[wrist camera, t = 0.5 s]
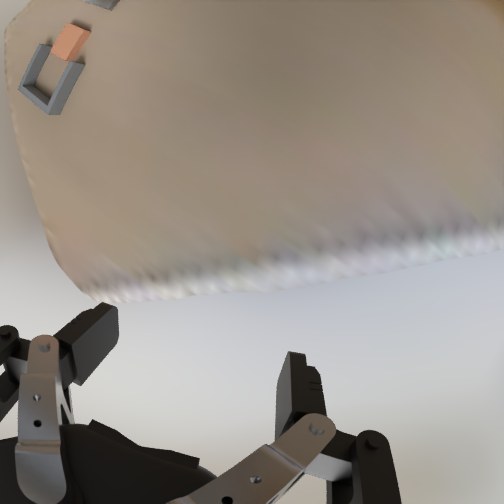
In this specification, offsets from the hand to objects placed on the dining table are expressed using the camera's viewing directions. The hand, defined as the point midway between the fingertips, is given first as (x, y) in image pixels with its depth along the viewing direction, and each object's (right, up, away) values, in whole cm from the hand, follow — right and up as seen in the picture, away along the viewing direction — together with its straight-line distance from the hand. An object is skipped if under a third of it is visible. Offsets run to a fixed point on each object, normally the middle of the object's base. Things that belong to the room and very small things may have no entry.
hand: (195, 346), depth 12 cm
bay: (-26, +30, +14) cm, 42 cm away
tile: (-23, +34, +13) cm, 43 cm away
